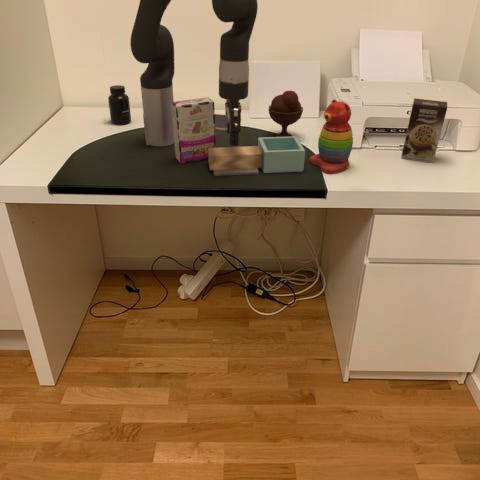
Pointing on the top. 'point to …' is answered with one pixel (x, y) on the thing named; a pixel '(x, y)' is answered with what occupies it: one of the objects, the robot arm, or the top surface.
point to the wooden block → (234, 158)
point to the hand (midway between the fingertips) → (232, 139)
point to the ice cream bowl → (285, 111)
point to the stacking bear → (334, 139)
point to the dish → (281, 154)
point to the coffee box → (424, 130)
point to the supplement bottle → (119, 105)
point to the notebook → (220, 122)
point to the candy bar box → (193, 129)
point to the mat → (236, 172)
